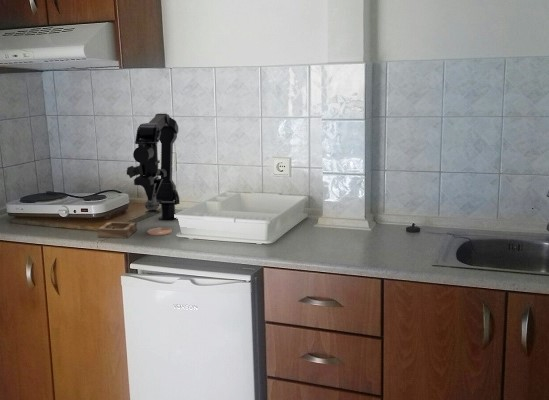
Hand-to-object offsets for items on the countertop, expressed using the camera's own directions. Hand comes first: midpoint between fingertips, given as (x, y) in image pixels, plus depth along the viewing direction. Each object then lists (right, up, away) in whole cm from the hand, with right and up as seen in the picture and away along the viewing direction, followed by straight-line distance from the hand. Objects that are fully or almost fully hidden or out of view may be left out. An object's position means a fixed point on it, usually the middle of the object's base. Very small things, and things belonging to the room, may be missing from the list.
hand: (151, 199), depth 230 cm
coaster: (+2, -12, +3) cm, 13 cm away
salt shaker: (0, -5, +1) cm, 5 cm away
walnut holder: (-13, -13, +1) cm, 18 cm away
